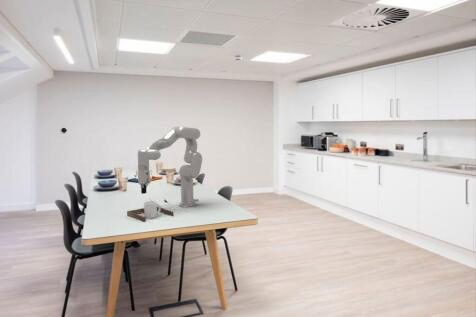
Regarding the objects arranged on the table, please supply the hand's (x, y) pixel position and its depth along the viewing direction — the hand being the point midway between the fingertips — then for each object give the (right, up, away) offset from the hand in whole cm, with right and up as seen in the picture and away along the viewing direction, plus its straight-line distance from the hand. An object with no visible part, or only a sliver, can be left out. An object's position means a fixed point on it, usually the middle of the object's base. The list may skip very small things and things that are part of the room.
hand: (143, 193), depth 257 cm
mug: (+8, -16, -6) cm, 19 cm away
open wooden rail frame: (+5, -15, -3) cm, 16 cm away
